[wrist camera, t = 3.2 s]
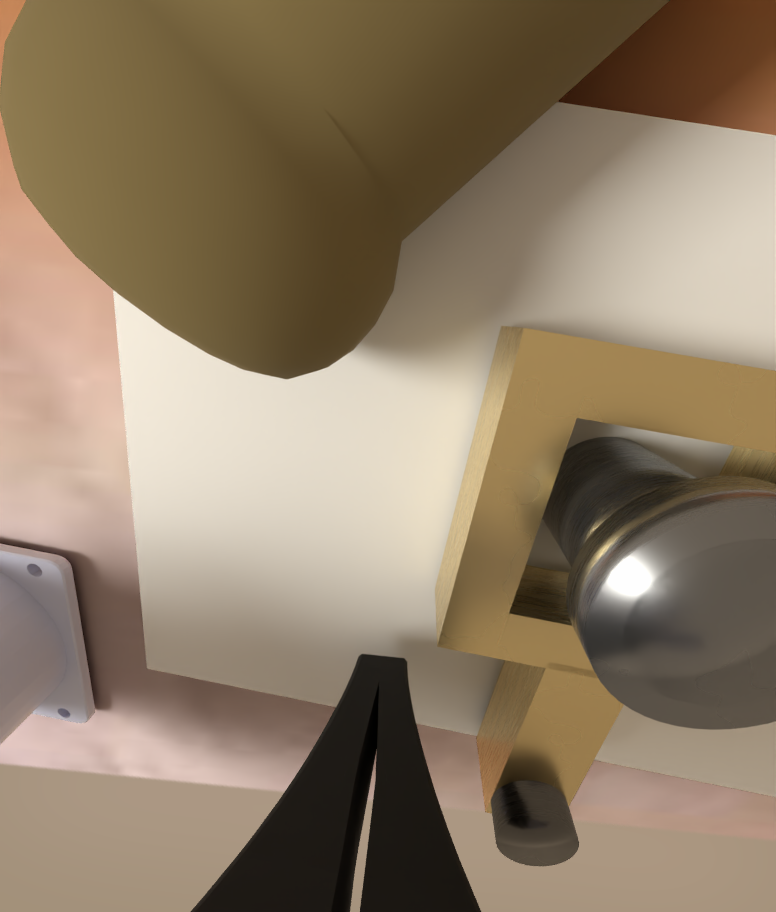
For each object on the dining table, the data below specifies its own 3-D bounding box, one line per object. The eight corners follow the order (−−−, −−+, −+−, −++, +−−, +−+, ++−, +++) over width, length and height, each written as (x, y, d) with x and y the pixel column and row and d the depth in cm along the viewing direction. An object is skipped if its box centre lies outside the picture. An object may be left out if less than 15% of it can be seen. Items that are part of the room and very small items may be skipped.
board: (165, 645, 14) (146, 669, 13) (127, 63, 8) (90, 30, 7) (758, 765, 14) (782, 798, 13) (1182, 226, 8) (1289, 213, 7)
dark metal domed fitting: (441, 733, 13) (449, 931, 9) (551, 379, 9) (669, 435, 5) (785, 803, 13) (965, 1044, 8) (1076, 471, 8) (1738, 625, 4)
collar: (500, 325, 8) (538, 328, 5) (835, 382, 8) (1039, 415, 5) (399, 727, 13) (392, 836, 10) (610, 771, 12) (661, 893, 10)
